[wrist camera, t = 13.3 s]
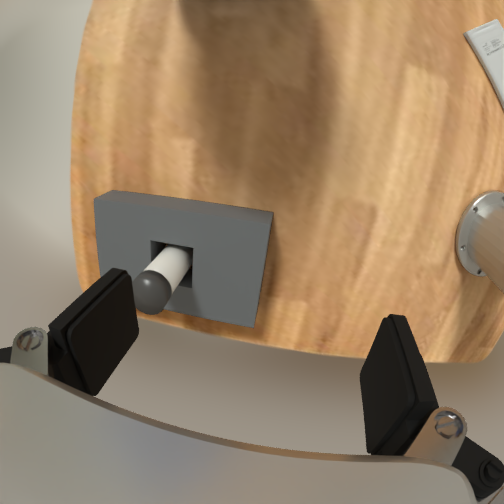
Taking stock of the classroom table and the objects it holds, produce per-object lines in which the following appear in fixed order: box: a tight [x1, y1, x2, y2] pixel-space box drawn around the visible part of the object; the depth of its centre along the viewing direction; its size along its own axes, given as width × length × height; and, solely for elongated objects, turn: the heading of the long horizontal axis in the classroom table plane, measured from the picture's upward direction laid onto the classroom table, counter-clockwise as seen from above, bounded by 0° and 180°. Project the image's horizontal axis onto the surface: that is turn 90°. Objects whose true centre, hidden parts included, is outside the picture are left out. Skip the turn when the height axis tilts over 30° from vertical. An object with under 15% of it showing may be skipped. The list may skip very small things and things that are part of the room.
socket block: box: [94, 190, 273, 328], centre depth 38 cm, size 22×14×4 cm, turn 83°
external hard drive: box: [463, 19, 504, 109], centre depth 22 cm, size 2×8×12 cm
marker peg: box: [132, 244, 193, 315], centre depth 34 cm, size 4×4×12 cm
